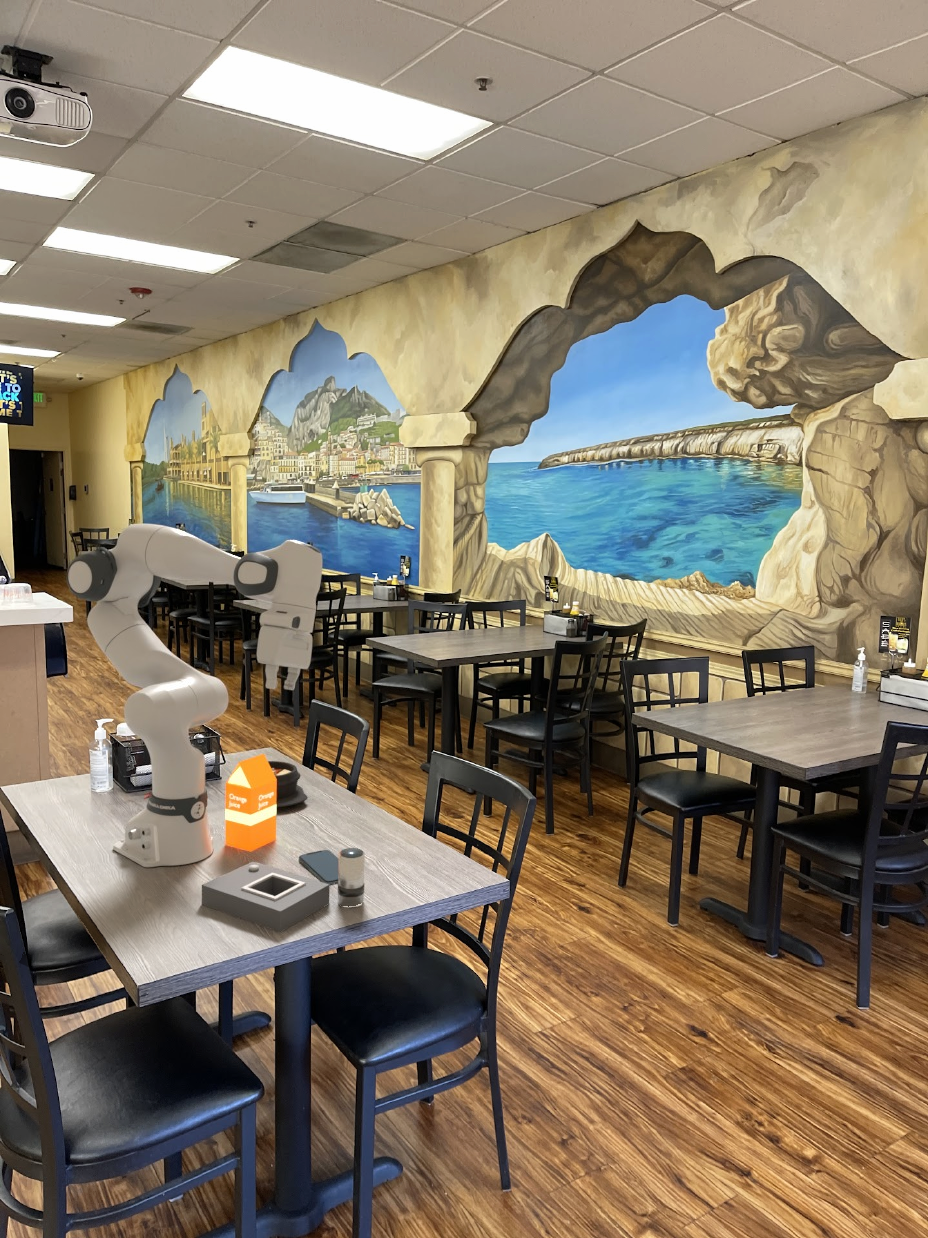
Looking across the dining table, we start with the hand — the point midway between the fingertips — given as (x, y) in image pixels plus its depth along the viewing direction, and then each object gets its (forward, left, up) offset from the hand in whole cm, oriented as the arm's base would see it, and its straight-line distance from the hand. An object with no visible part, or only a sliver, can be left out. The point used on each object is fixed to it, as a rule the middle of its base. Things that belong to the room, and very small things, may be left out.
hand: (280, 689), depth 172 cm
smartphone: (+3, +12, -42) cm, 43 cm away
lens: (+17, +2, -41) cm, 44 cm away
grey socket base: (+4, -8, -41) cm, 42 cm away
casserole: (-39, +39, -41) cm, 69 cm away
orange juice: (-21, +14, -41) cm, 48 cm away
